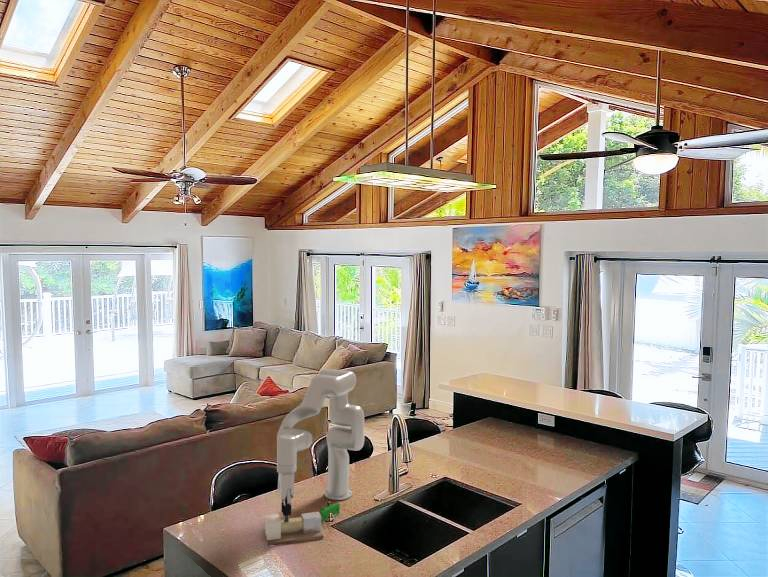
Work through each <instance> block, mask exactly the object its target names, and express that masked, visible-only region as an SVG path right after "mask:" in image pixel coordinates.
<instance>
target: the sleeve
mask: <svg viewBox="0 0 768 577" xmlns="http://www.w3.org/2000/svg"><path fill="white" fill-rule="evenodd" d="M300 515H301V516H300V517H302V518H303V528H301V529H302V531H303V534H307V533H314V532H322V522H321V515H320V511H313V512H306V513H301V514H300Z"/></svg>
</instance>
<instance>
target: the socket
mask: <svg viewBox="0 0 768 577" xmlns="http://www.w3.org/2000/svg"><path fill="white" fill-rule="evenodd" d="M280 520H281V518H280V515H279V514H278V513H275V514H268V515H266V514H265V516H264V524H265V525H264V529H265V533H266V536H265V538H266V537H267V540H273V539H280V538H281V521H280ZM265 533H264V534H265ZM267 540H266V541H267Z"/></svg>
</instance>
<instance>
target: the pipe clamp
mask: <svg viewBox="0 0 768 577" xmlns="http://www.w3.org/2000/svg"><path fill="white" fill-rule="evenodd" d="M328 504H329V506H328ZM327 506H328V507H327ZM340 506H341V503H340V502H335V503H334V504H331V503H327V505H326V507H323V506H321V507H320V511H319V513H320V515H321V523H322V522H323V521H325V520H326V519H327V518H328V516H329V515H330V513H332V514H333V515H335V514H337V515H339V514H340V511H341V509H340V508H341V507H340ZM338 513H339V514H338ZM325 522H326V521H325ZM323 523H324V522H323Z"/></svg>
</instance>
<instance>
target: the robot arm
mask: <svg viewBox="0 0 768 577" xmlns="http://www.w3.org/2000/svg"><path fill="white" fill-rule="evenodd" d="M356 385H357V376H356V374H355V372H353V371H351V370H344V369H341V370H340V369H336V368H335V369H334V368H324V369H321V370H320V371H319V373H318V375H315V376H313V378H312V379H311V381H310V383H309V385H308V387H307V390H306V392H305V394H304V397H303V399H302V401H301V403H300V404H299V405H297V406H296V407H295V408H294V409H292V410H291V411H290V412H289V413H287V414H286V415H285V417H284V418H283V419H282V421H281V424H280V427H279V429H278V431H277V435H276V448H277V449H276V473H278V477H277V478H278V479H277V493H278V496H279V498H280V500H281V513H282V516H283V517H284V516H287V515H289V516H291V515H292V500H294V498H295V473H296V472H297V470H298V469H297V465H298V464H297V462H298V460H297V459H298V457H297V456H298V455H297V454H298V452H301V451H304V450H305V451H306V450H307V449H309V448H310V447H311V445H312V443H313V438H314V437H313V435H312V433H311V432H310V431H307V430H304V429H298V428H293V427H294V426H295V425H296V424H297V423H299V422H301V421H302V420H305V419H308V418H312V417H314V416H317V415H319V414H320V413H321V411H322V408H323V406H324V403H325V401H326V398H327V397H328V398H329V401H328V402H329V421H330V423H332V424H333V425H334V426H332V427H330V428H328V429H327V432H326V436H325V438H326V444H327V452H328V455H327V457H328V458H327V459H328V462H327V464H328V465H327V466H328V467H327V473H328V474H327V489H326V490H325V491H324V497H325V498H326V499H329V500H333V501H342V500H347V499H349V498H351V497H352V495H353V491H352V490H351V489H350V488H349V487H350V486H349V485H350V484H349V481H350V479H349V478H350V455H349V453H348V450H349V451H355V452H356V451H360V450H362V448H363V447H364V445H365V413H364V409H363V408H362V407H361V406H359V405H355V404H350V403H349V394H348V393H350V392H351V391H353V390H354V389H355V387H356ZM335 425H336V426H335ZM285 500H286V501H285Z"/></svg>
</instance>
